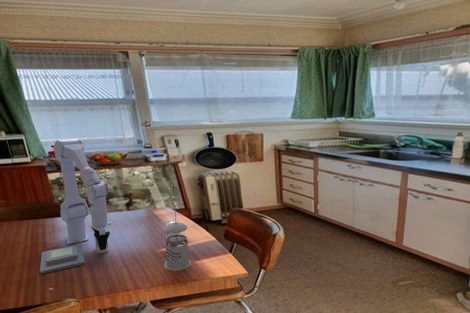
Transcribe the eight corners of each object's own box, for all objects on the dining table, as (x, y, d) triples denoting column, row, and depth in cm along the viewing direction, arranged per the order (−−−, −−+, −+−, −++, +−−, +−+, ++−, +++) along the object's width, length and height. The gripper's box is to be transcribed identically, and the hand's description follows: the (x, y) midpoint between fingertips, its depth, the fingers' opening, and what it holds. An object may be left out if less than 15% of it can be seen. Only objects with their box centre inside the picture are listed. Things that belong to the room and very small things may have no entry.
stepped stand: (42, 254, 124) (41, 247, 124) (81, 246, 131) (80, 240, 131) (40, 274, 109) (39, 266, 108) (84, 264, 116) (84, 257, 115)
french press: (178, 273, 108) (175, 202, 104) (154, 265, 114) (150, 197, 110) (197, 261, 116) (194, 195, 112) (173, 254, 122) (170, 191, 118)
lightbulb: (178, 250, 125) (177, 224, 124) (163, 249, 126) (162, 223, 125) (184, 244, 131) (183, 218, 130) (170, 243, 133) (168, 218, 131)
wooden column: (96, 250, 128) (95, 235, 127) (106, 247, 129) (105, 233, 129) (97, 253, 124) (96, 239, 123) (108, 251, 126) (107, 237, 125)
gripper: (112, 216, 120) (115, 250, 122) (107, 207, 133) (109, 237, 135) (92, 220, 117) (95, 254, 119) (88, 209, 129) (91, 241, 131)
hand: (101, 246), depth 126 cm, fingers open, 7 cm apart
